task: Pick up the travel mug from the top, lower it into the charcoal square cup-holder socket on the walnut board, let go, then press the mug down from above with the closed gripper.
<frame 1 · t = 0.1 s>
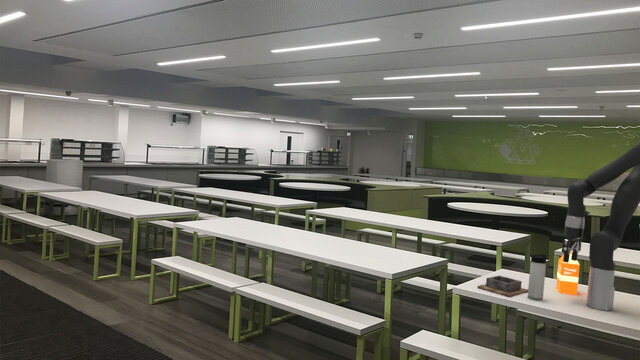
hand: (569, 261, 213), 17 cm above the table, tool pointing down, fingers open, 8 cm apart
orange juice: (566, 292, 226), on the table
travel mug: (535, 298, 211), on the table
cup holder: (503, 290, 222), on the table
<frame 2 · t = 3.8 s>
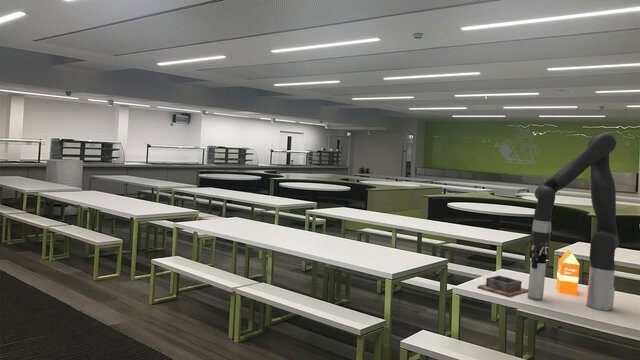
hand: (538, 267, 210), 14 cm above the table, tool pointing down, fingers closed on travel mug, 6 cm apart
travel mug: (535, 298, 211), on the table, touching gripper
everything else where it was.
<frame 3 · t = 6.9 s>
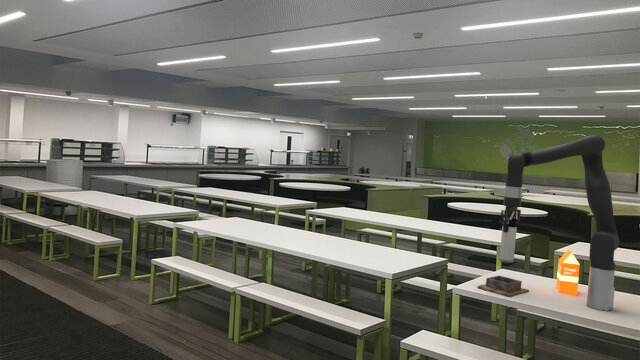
hand: (509, 231, 220), 28 cm above the table, tool pointing down, fingers closed on travel mug, 6 cm apart
travel mug: (506, 261, 221), point 14 cm above the table, touching gripper
everything else where it was.
when the fingers open (17 cm above the table, at t = 10.2 s): travel mug drops 1 cm, resting on cup holder.
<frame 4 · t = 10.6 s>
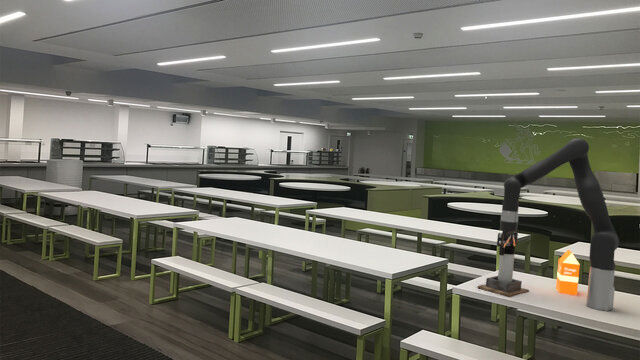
hand: (506, 254, 221), 17 cm above the table, tool pointing down, fingers open, 8 cm apart
travel mug: (504, 288, 222), point 1 cm above the table, touching cup holder, gripper
everything else where it was.
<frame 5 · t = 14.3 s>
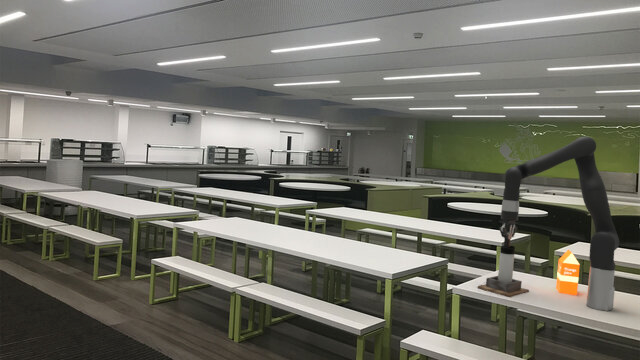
hand: (506, 246, 221), 21 cm above the table, tool pointing down, fingers closed
travel mug: (504, 288, 222), point 1 cm above the table, touching cup holder
everything else where it was.
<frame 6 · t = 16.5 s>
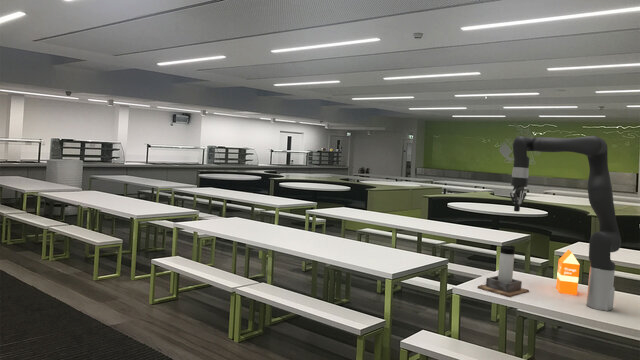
hand: (516, 211, 233), 37 cm above the table, tool pointing down, fingers closed
nothing on the table moved.
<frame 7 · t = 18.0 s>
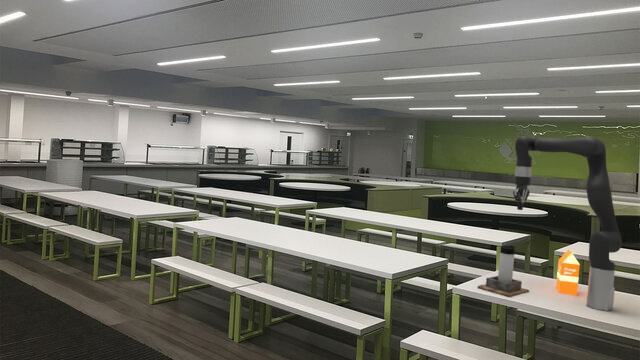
hand: (519, 209, 238), 37 cm above the table, tool pointing down, fingers closed
nothing on the table moved.
at the end: travel mug 0.7 cm from the cup holder (horizontally); travel mug point 0.8 cm above the table; travel mug tilted 0° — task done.
